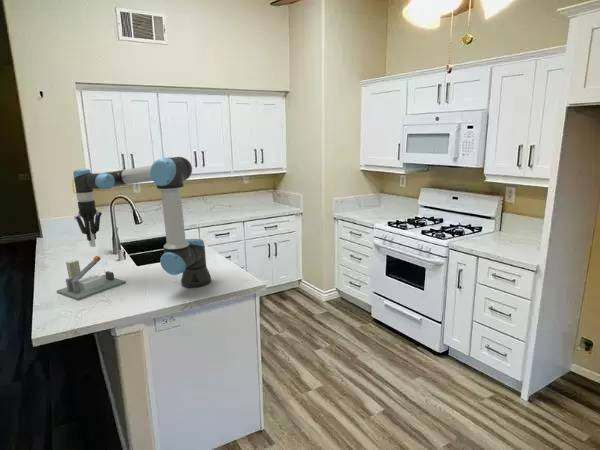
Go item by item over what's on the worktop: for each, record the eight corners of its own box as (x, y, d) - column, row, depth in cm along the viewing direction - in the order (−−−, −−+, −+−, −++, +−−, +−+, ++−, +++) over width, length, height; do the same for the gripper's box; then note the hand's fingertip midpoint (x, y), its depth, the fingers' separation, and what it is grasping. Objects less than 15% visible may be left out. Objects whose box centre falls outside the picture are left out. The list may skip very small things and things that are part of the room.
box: (79, 277, 216) (75, 258, 213) (82, 279, 213) (79, 260, 211) (68, 280, 212) (65, 261, 209) (72, 282, 209) (68, 262, 207)
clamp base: (126, 283, 205) (124, 269, 203) (78, 300, 185) (75, 285, 183) (104, 277, 216) (102, 263, 214) (56, 292, 195) (54, 278, 194)
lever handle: (101, 258, 201) (99, 256, 200) (76, 282, 192) (74, 280, 191) (98, 257, 203) (96, 255, 202) (73, 281, 193) (71, 279, 192)
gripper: (94, 198, 200) (101, 242, 206) (68, 202, 190) (75, 248, 195) (102, 199, 196) (109, 244, 201) (76, 203, 186) (83, 250, 191)
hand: (92, 246), depth 198 cm, fingers closed
